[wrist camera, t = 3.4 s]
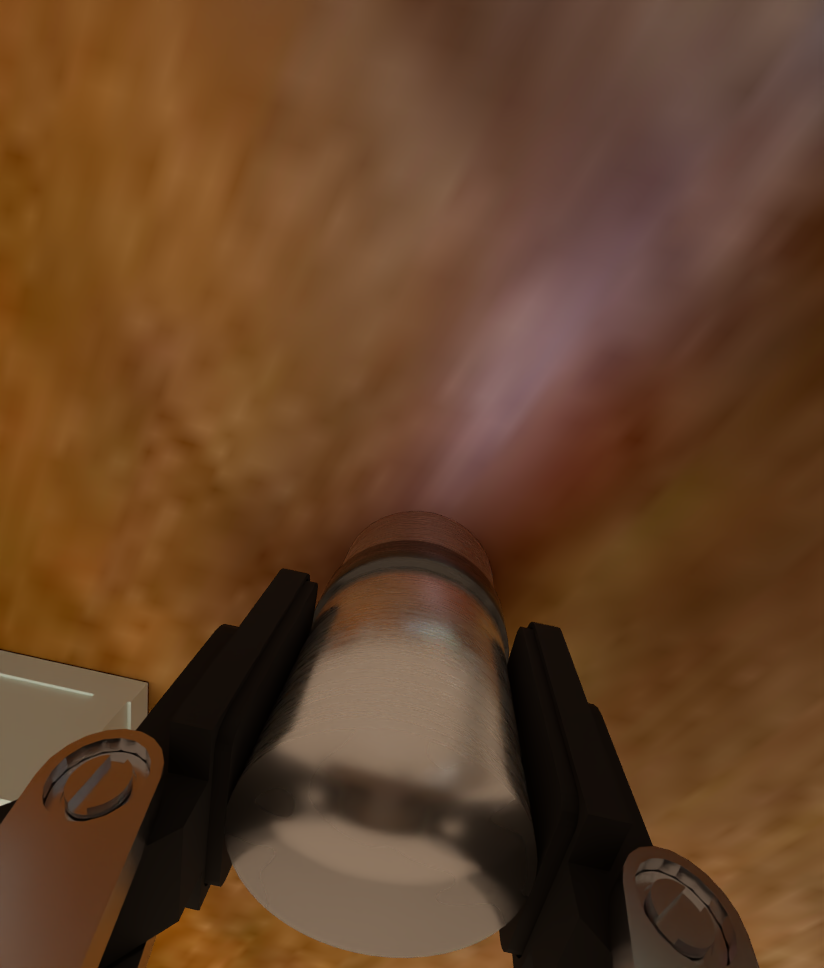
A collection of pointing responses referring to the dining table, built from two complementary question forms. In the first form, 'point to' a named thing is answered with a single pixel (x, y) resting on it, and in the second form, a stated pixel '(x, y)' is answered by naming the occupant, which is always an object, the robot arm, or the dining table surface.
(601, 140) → the dining table surface
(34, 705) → the pale square socket block
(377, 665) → the beige round-topped cylinder
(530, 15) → the dining table surface
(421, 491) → the dining table surface
